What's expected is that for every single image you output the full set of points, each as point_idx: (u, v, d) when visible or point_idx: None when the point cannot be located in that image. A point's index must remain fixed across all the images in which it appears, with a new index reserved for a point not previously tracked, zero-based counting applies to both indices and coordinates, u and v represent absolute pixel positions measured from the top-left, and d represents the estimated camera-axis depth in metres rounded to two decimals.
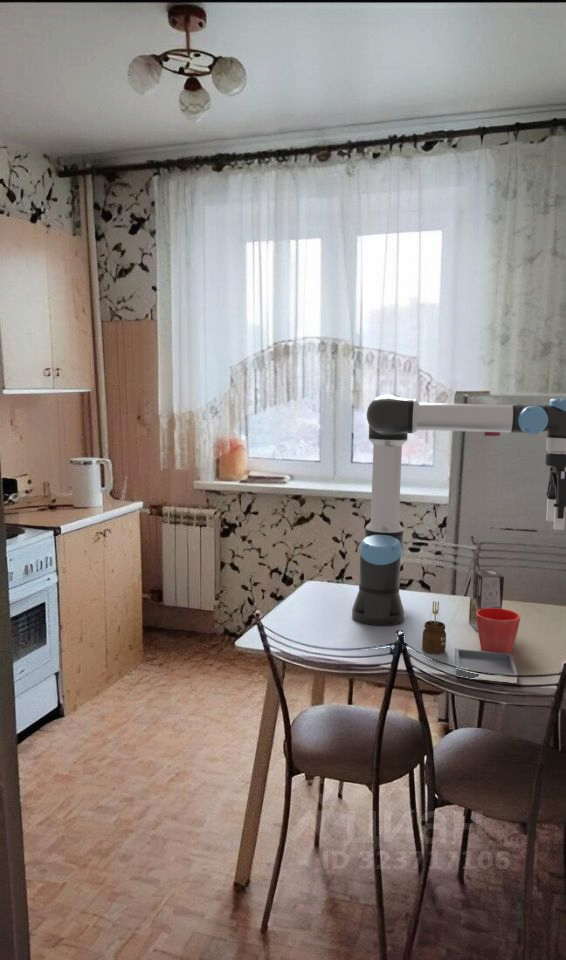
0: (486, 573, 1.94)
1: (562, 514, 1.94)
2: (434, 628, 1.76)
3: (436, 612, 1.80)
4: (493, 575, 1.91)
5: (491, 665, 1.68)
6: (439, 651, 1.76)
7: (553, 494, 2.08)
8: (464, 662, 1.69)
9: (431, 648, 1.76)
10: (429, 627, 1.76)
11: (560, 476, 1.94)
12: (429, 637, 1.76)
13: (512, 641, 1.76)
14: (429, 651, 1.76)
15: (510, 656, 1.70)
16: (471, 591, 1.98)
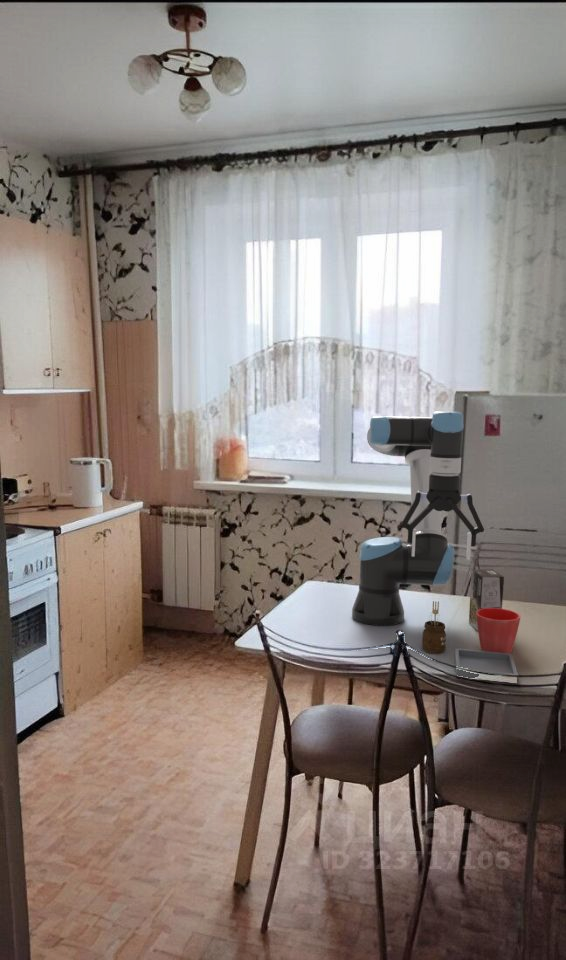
0: (486, 573, 1.94)
1: None
2: (434, 628, 1.76)
3: (436, 612, 1.80)
4: (493, 575, 1.91)
5: (491, 665, 1.68)
6: (439, 651, 1.76)
7: None
8: (464, 662, 1.69)
9: (431, 648, 1.76)
10: (429, 627, 1.76)
11: (415, 496, 1.76)
12: (429, 637, 1.76)
13: (512, 641, 1.76)
14: (429, 651, 1.76)
15: (510, 656, 1.70)
16: (471, 591, 1.98)
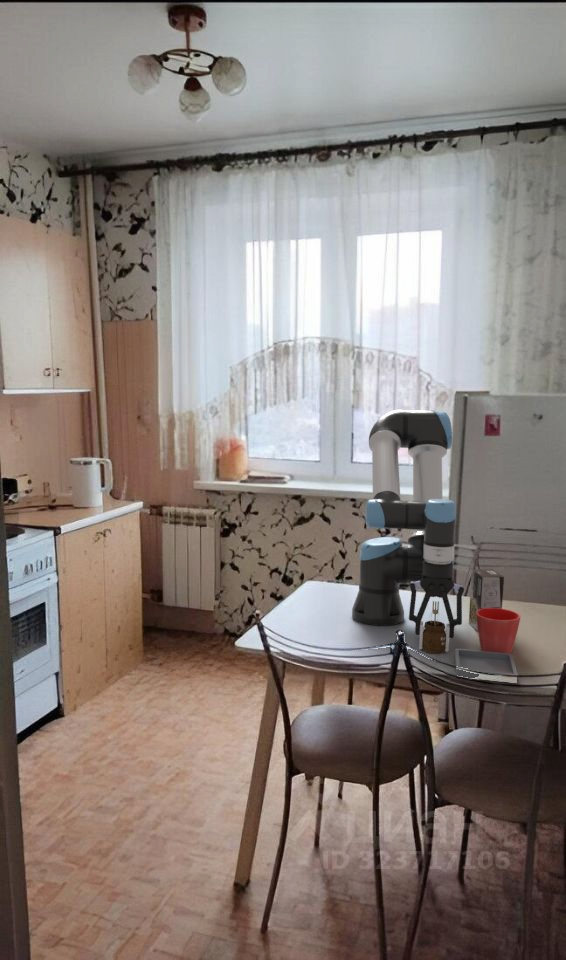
0: (486, 573, 1.94)
1: (415, 630, 1.79)
2: (434, 628, 1.76)
3: (436, 612, 1.80)
4: (493, 575, 1.91)
5: (491, 665, 1.68)
6: (439, 651, 1.76)
7: None
8: (464, 662, 1.69)
9: (431, 648, 1.76)
10: (429, 627, 1.76)
11: None
12: (429, 637, 1.76)
13: (512, 641, 1.76)
14: (429, 651, 1.76)
15: (510, 656, 1.70)
16: (471, 591, 1.98)
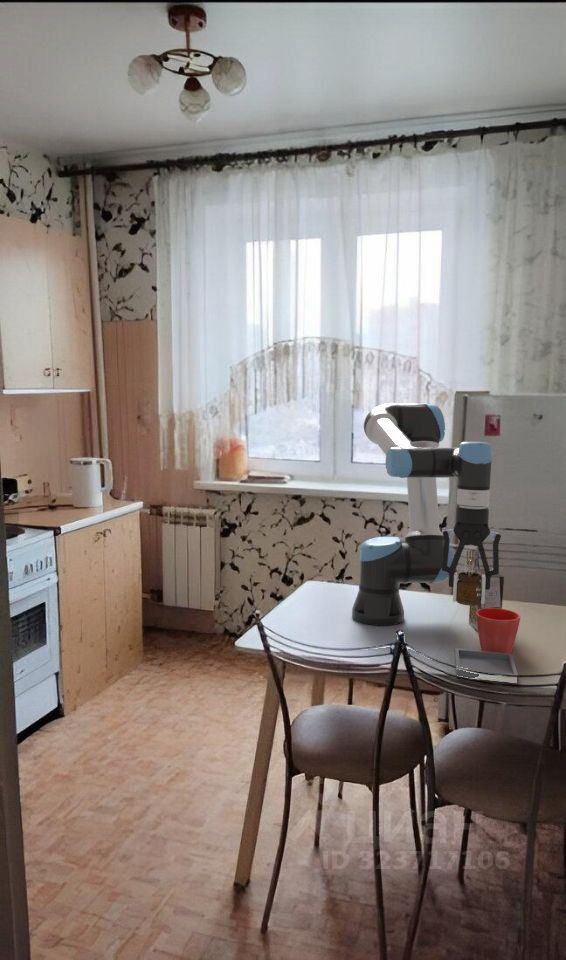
0: None
1: None
2: (469, 578, 1.65)
3: (470, 563, 1.70)
4: (493, 575, 1.91)
5: (491, 665, 1.68)
6: (474, 603, 1.66)
7: None
8: (464, 662, 1.69)
9: (466, 599, 1.66)
10: (463, 577, 1.66)
11: None
12: (464, 587, 1.66)
13: (512, 641, 1.76)
14: (464, 603, 1.66)
15: (510, 656, 1.70)
16: None
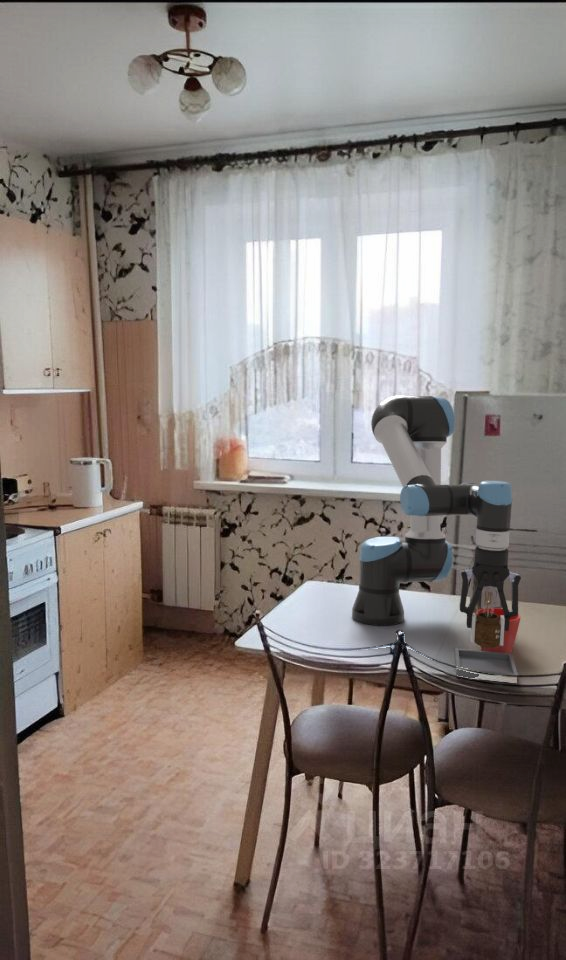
0: None
1: None
2: (488, 620, 1.62)
3: (489, 603, 1.67)
4: None
5: (491, 665, 1.68)
6: (493, 645, 1.63)
7: (502, 608, 1.64)
8: (464, 662, 1.69)
9: (485, 641, 1.63)
10: (482, 619, 1.63)
11: None
12: (483, 629, 1.63)
13: (512, 641, 1.76)
14: (482, 645, 1.63)
15: (510, 656, 1.70)
16: (471, 591, 1.98)
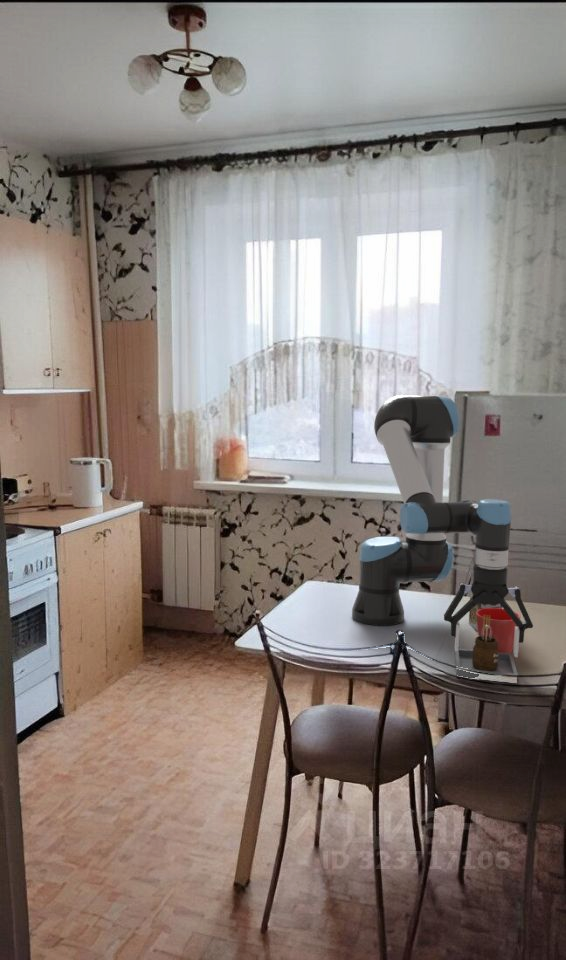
0: None
1: None
2: (486, 644, 1.63)
3: (487, 626, 1.68)
4: None
5: None
6: (491, 669, 1.64)
7: None
8: (464, 662, 1.69)
9: (483, 665, 1.64)
10: (481, 643, 1.64)
11: (459, 588, 1.66)
12: (481, 653, 1.64)
13: (512, 641, 1.76)
14: (481, 669, 1.64)
15: (510, 656, 1.70)
16: (471, 591, 1.98)
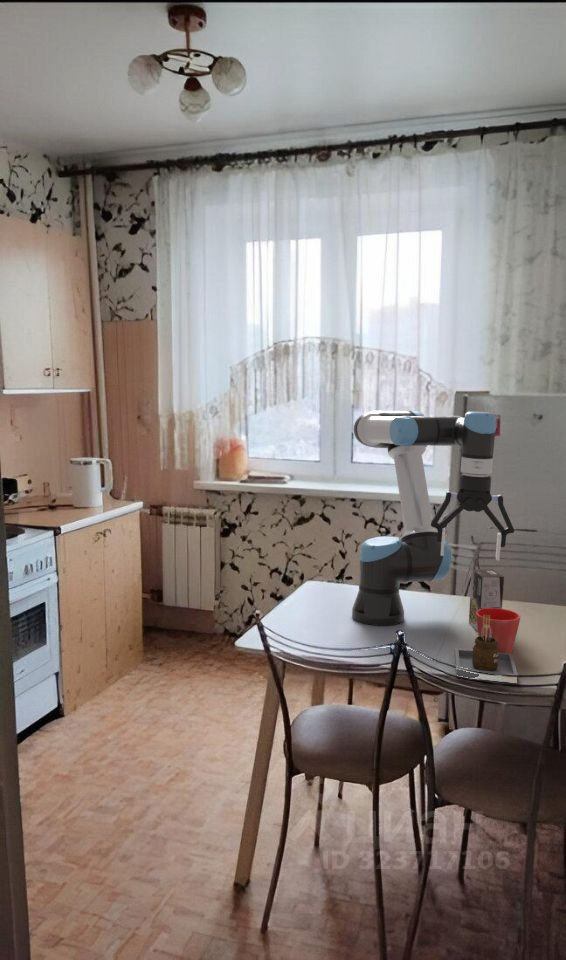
0: (486, 573, 1.94)
1: (437, 536, 1.77)
2: (486, 644, 1.63)
3: (487, 626, 1.68)
4: (493, 575, 1.91)
5: None
6: (491, 669, 1.64)
7: None
8: (464, 662, 1.69)
9: (483, 665, 1.64)
10: (481, 643, 1.64)
11: None
12: (481, 653, 1.64)
13: (512, 641, 1.76)
14: (481, 669, 1.64)
15: (510, 656, 1.70)
16: (471, 591, 1.98)
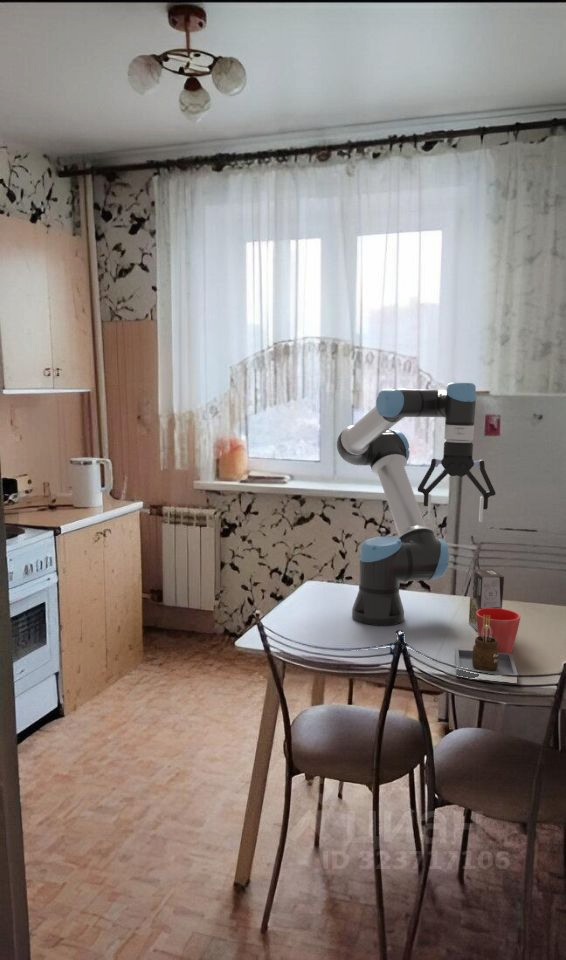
0: (486, 573, 1.94)
1: None
2: (486, 644, 1.63)
3: (487, 626, 1.68)
4: (493, 575, 1.91)
5: None
6: (491, 669, 1.64)
7: None
8: (464, 662, 1.69)
9: (483, 665, 1.64)
10: (481, 643, 1.64)
11: None
12: (481, 653, 1.64)
13: (512, 641, 1.76)
14: (481, 669, 1.64)
15: (510, 656, 1.70)
16: (471, 591, 1.98)
